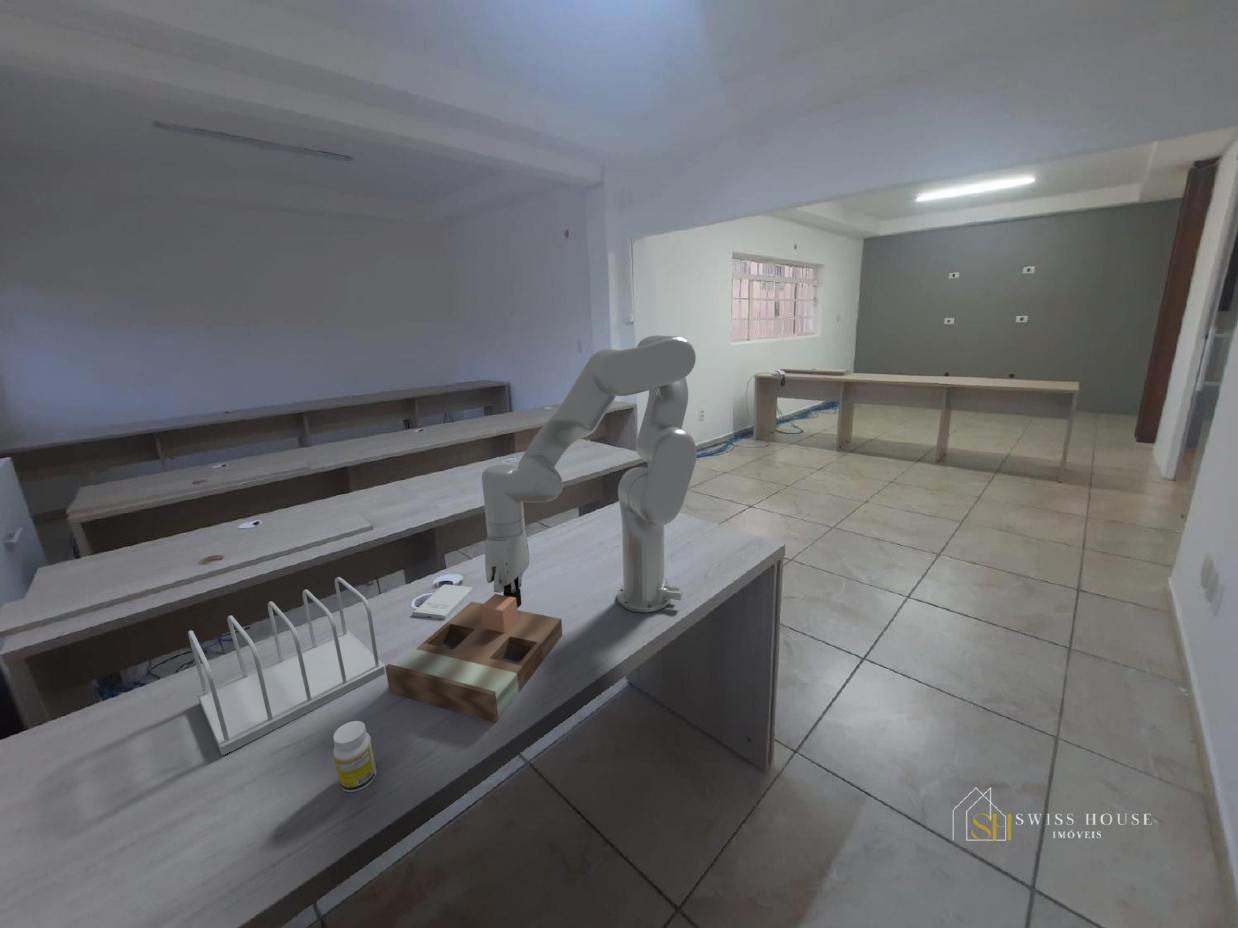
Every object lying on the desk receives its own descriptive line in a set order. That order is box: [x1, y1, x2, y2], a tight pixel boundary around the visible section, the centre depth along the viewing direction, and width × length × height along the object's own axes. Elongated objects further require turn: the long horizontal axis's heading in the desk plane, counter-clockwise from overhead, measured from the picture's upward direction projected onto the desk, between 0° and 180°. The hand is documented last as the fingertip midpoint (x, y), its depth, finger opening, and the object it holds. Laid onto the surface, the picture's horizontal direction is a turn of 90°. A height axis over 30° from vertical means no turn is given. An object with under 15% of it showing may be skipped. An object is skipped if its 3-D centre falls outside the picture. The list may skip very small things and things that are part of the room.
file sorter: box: [187, 576, 386, 756], centre depth 88 cm, size 25×17×16 cm
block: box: [481, 593, 518, 633], centre depth 100 cm, size 5×5×5 cm
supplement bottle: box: [332, 720, 378, 793], centre depth 70 cm, size 5×5×8 cm
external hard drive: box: [412, 584, 474, 620], centre depth 117 cm, size 2×8×12 cm
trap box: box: [384, 601, 563, 724], centre depth 95 cm, size 22×25×6 cm
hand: (513, 605), depth 105 cm, fingers closed
